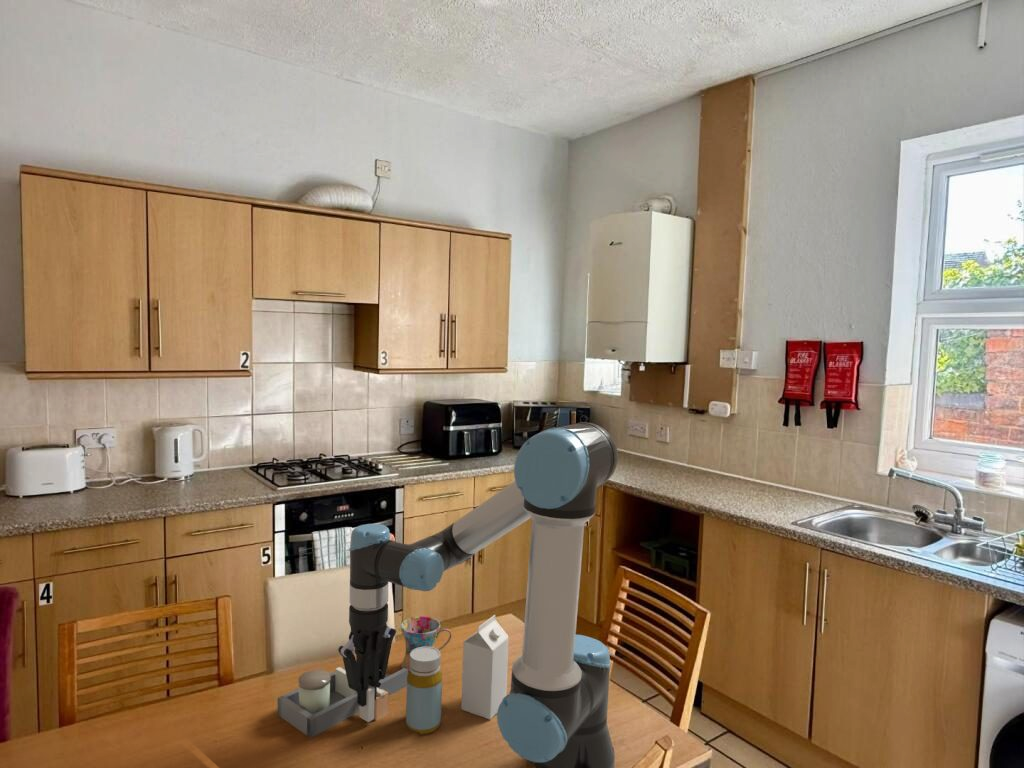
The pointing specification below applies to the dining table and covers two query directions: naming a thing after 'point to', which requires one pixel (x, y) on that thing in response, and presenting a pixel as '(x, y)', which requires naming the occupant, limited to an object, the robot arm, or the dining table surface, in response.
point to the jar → (314, 690)
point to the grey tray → (331, 705)
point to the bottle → (424, 690)
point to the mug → (420, 635)
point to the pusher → (344, 690)
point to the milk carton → (485, 669)
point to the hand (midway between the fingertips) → (366, 717)
